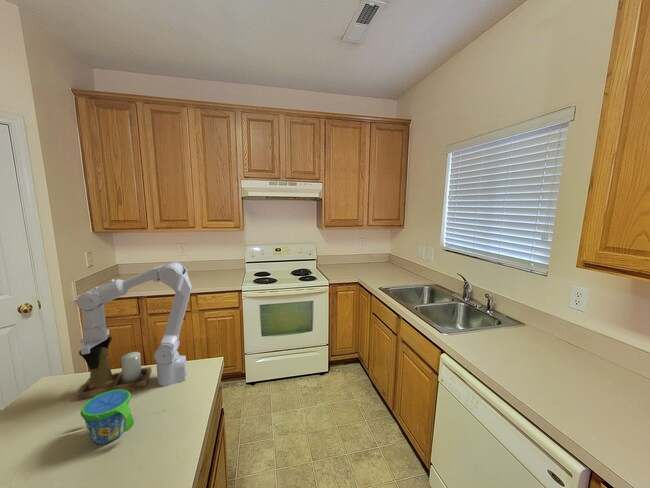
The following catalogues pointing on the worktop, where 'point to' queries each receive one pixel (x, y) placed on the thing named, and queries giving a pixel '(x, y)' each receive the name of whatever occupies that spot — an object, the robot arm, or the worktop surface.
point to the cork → (101, 369)
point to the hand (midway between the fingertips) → (98, 363)
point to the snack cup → (108, 416)
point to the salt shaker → (131, 367)
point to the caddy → (113, 385)
